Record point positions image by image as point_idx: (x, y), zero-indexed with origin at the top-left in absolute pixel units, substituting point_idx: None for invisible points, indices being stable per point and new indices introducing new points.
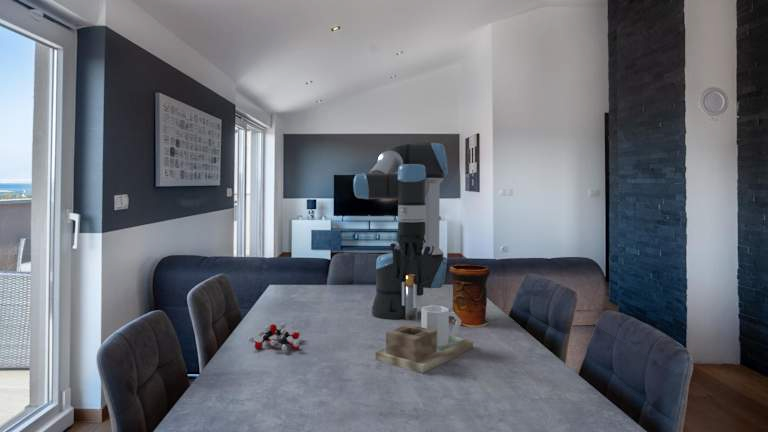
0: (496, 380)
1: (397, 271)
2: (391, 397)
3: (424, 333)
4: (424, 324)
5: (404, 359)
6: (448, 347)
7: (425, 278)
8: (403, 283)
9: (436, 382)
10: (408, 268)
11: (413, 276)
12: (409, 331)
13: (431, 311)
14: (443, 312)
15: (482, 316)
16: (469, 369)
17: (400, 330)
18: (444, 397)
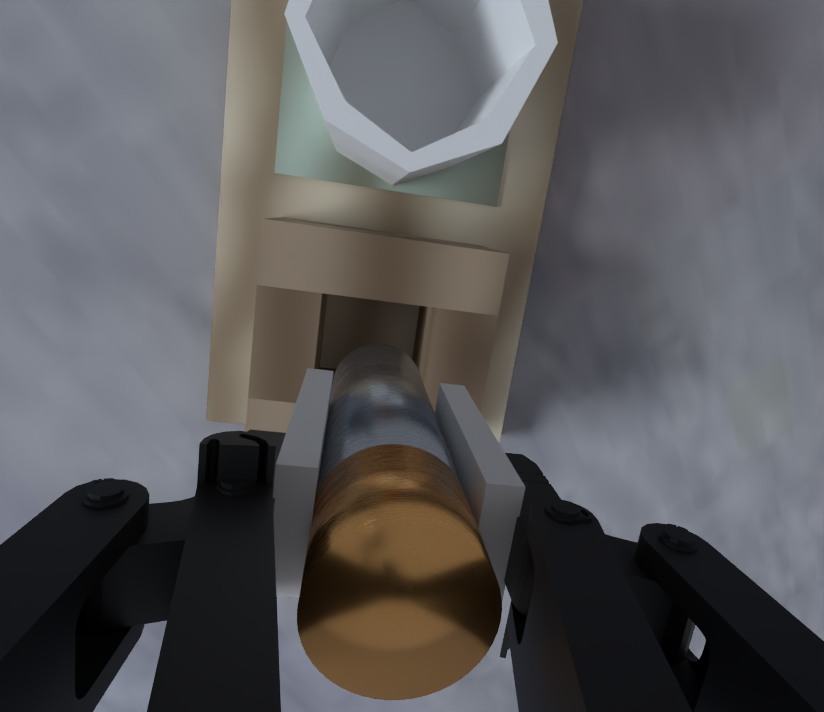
0: (780, 332)
1: (97, 690)
2: (487, 657)
3: (465, 349)
4: (370, 160)
5: None
6: (508, 137)
7: (696, 670)
8: (295, 587)
9: (574, 477)
10: (275, 623)
11: (475, 665)
12: (323, 293)
13: None
14: (532, 88)
15: None
16: (653, 281)
17: (300, 377)
18: None
